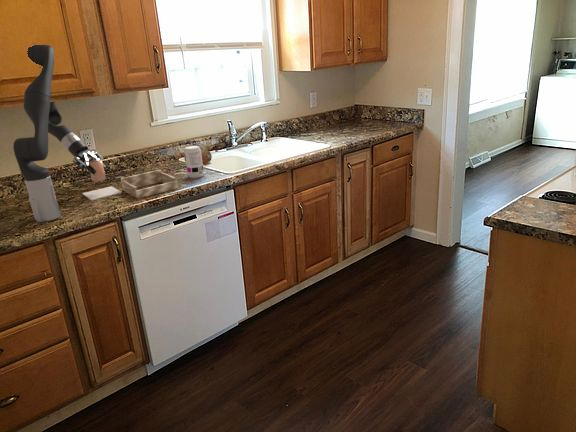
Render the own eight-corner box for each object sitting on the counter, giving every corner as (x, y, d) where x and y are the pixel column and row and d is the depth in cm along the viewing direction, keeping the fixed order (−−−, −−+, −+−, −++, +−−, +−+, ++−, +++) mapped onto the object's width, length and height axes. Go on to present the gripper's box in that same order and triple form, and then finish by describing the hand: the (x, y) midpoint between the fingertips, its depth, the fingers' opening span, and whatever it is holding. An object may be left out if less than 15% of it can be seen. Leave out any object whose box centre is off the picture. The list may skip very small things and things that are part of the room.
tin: (185, 166, 252) (183, 152, 249) (185, 165, 255) (183, 150, 252) (212, 163, 256) (210, 148, 253) (211, 162, 258) (210, 147, 255)
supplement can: (185, 178, 230) (180, 149, 224) (192, 173, 237) (188, 145, 232) (199, 178, 227) (195, 149, 222) (206, 173, 235) (203, 145, 229)
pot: (98, 182, 207) (94, 163, 204) (89, 180, 210) (85, 161, 206) (108, 178, 212) (104, 159, 209) (99, 177, 215) (95, 158, 211)
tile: (91, 200, 204) (91, 199, 204) (82, 194, 214) (82, 193, 214) (122, 193, 212) (121, 192, 212) (111, 187, 222) (111, 186, 222)
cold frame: (137, 198, 203) (135, 185, 201) (123, 190, 216) (120, 178, 214) (178, 188, 214) (176, 175, 212) (162, 180, 228) (160, 169, 225)
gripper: (65, 143, 200) (91, 170, 201) (89, 136, 213) (114, 161, 213) (59, 154, 204) (85, 180, 204) (83, 146, 217) (107, 171, 217)
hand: (100, 170), depth 209 cm, fingers closed on pot, 6 cm apart
